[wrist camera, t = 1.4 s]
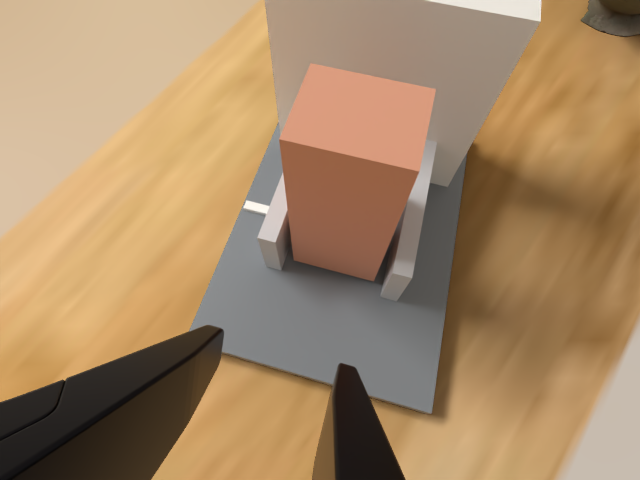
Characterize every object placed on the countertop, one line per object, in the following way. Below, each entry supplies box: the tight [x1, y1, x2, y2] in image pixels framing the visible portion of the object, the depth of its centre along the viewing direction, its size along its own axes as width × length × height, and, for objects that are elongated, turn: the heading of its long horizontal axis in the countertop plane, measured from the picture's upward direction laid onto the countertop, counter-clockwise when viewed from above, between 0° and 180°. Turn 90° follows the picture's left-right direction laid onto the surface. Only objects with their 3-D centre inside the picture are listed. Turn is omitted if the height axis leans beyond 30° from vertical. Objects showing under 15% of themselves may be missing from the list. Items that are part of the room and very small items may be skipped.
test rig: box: [189, 0, 541, 414], centre depth 20 cm, size 20×14×13 cm
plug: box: [279, 63, 436, 281], centre depth 19 cm, size 4×5×11 cm
